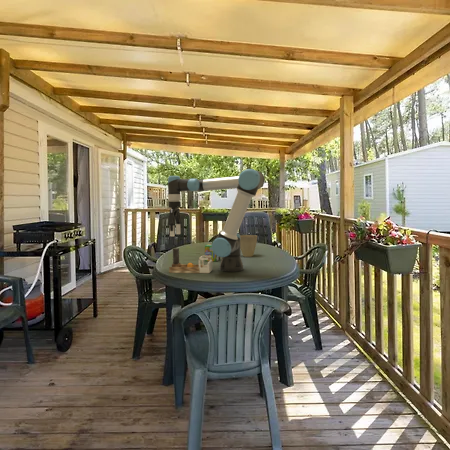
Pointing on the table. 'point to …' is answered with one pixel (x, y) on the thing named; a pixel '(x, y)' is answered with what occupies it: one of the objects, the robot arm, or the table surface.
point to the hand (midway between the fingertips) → (175, 235)
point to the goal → (205, 267)
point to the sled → (176, 258)
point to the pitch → (185, 269)
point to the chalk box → (211, 253)
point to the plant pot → (248, 244)
